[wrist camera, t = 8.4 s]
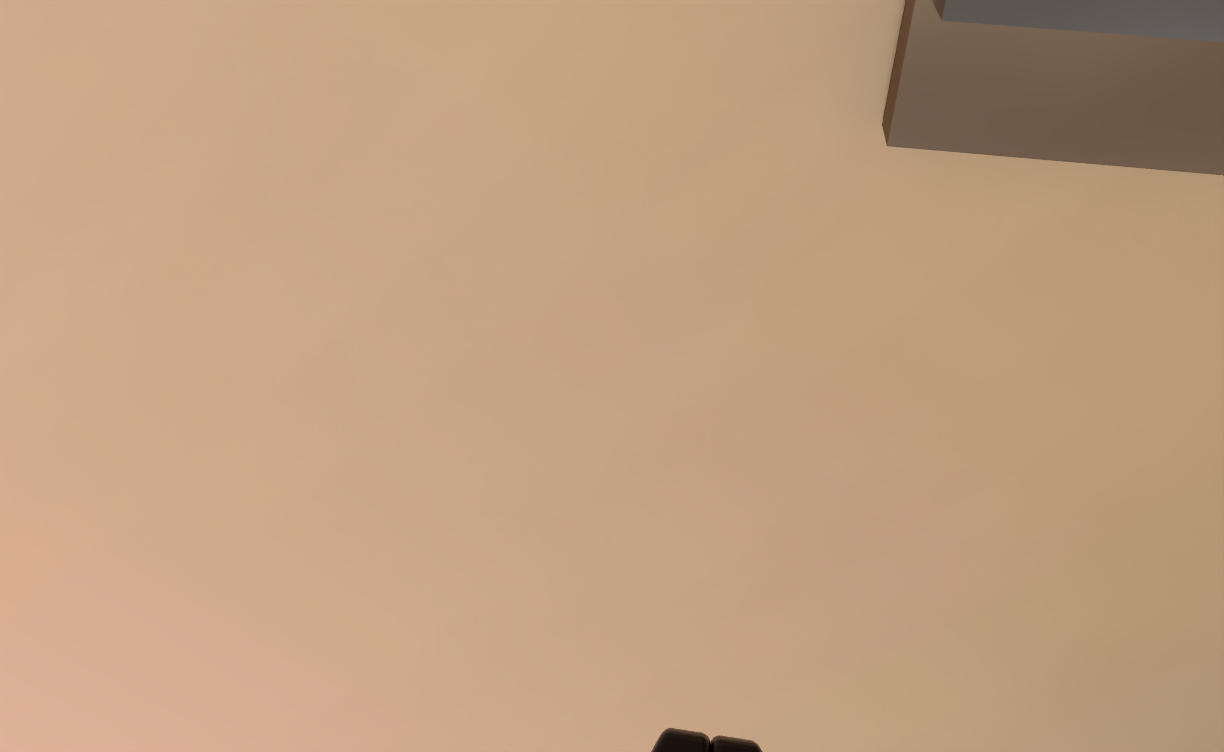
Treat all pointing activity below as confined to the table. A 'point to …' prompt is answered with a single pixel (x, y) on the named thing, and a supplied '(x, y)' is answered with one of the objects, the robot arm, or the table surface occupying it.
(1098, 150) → the chute
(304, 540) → the table surface
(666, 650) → the table surface
